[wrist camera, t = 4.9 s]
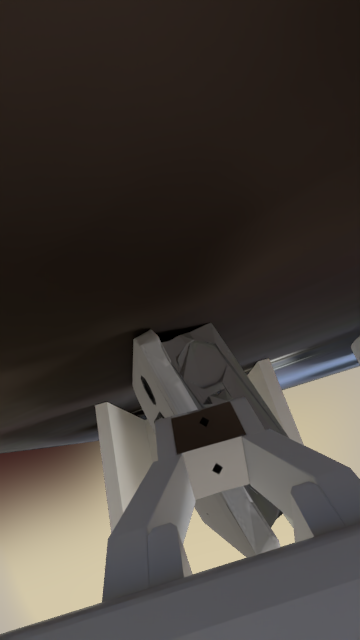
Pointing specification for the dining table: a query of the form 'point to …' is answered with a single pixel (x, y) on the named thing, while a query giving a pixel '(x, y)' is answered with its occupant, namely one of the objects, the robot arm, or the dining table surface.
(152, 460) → the channel
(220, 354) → the electrical switch
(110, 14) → the dining table surface
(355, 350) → the cat paw sculpture
